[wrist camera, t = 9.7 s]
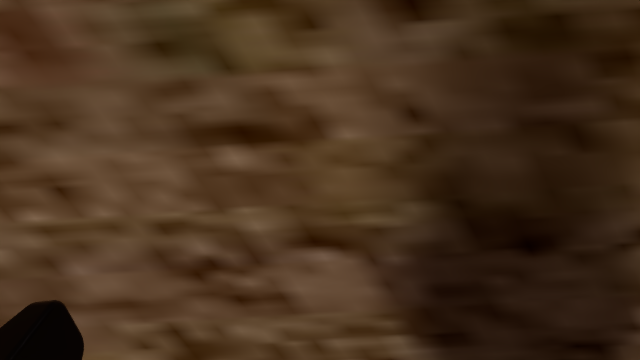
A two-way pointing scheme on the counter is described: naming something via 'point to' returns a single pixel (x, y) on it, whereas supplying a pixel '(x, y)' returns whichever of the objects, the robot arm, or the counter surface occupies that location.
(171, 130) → the counter surface
